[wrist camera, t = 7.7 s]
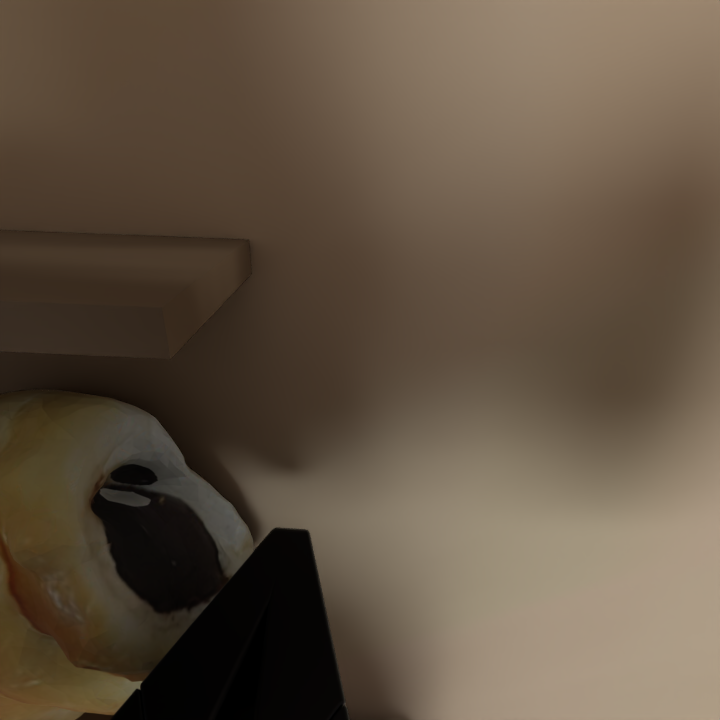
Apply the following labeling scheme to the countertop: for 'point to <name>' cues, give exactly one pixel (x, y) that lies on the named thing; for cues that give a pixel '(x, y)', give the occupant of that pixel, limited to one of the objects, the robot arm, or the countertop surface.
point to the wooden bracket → (112, 294)
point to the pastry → (99, 551)
